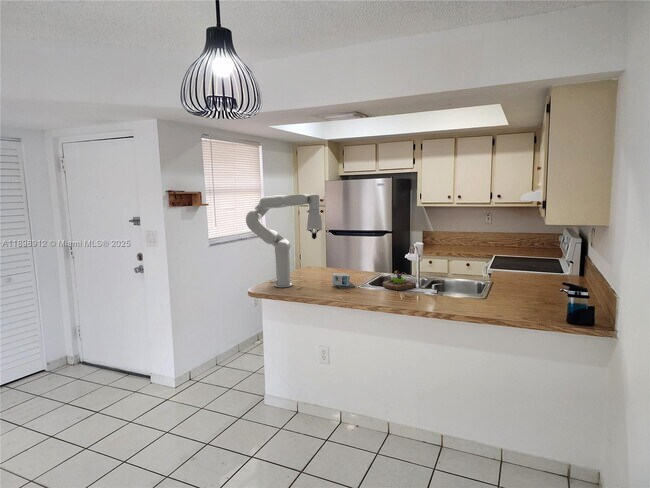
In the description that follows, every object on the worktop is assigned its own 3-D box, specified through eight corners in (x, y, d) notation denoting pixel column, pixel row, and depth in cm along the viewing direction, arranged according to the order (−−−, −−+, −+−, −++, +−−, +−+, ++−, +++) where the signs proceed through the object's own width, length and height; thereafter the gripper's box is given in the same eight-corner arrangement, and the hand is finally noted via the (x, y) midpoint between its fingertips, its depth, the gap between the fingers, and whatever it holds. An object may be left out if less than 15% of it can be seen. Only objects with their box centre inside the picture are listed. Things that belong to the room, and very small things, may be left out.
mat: (338, 288, 266) (338, 286, 265) (333, 283, 281) (333, 281, 281) (355, 287, 268) (355, 285, 268) (349, 282, 283) (349, 280, 283)
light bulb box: (332, 285, 266) (349, 286, 267) (333, 275, 266) (349, 276, 266) (331, 282, 277) (347, 283, 277) (332, 272, 276) (348, 273, 277)
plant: (377, 286, 273) (377, 269, 272) (397, 282, 284) (397, 266, 283) (398, 291, 257) (398, 273, 256) (419, 286, 268) (419, 270, 267)
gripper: (303, 212, 270) (303, 239, 272) (325, 212, 272) (325, 239, 274) (302, 212, 278) (302, 238, 280) (324, 211, 280) (324, 238, 282)
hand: (314, 238), depth 277 cm, fingers closed
